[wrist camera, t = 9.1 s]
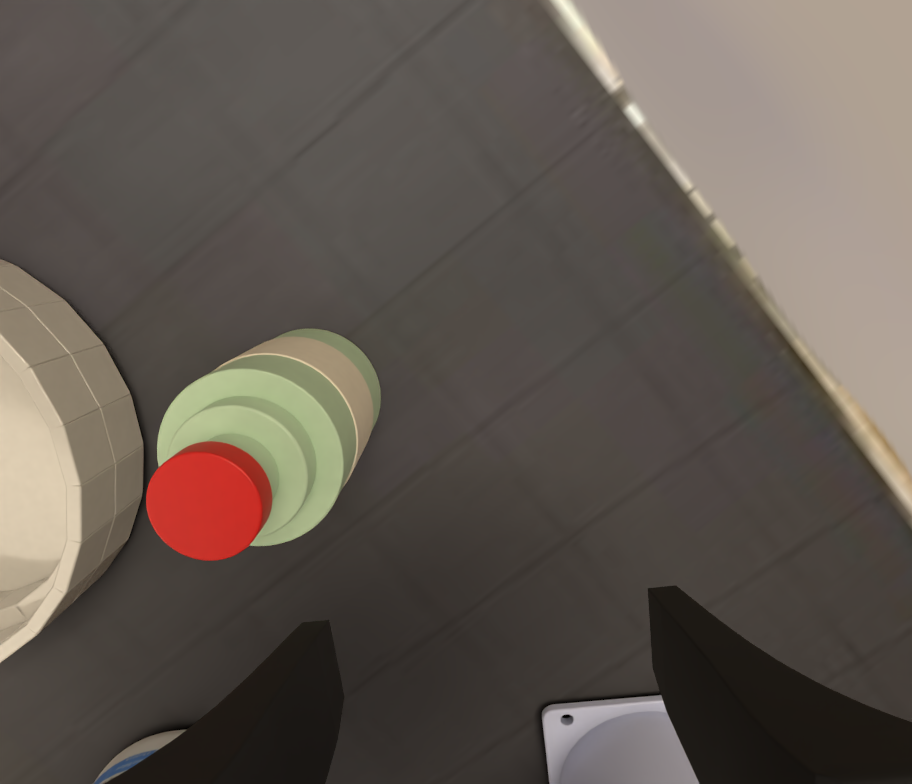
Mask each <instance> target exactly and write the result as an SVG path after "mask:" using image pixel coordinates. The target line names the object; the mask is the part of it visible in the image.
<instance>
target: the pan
mask: <svg viewBox="0 0 912 784" xmlns="http://www.w3.org/2000/svg"><path fill="white" fill-rule="evenodd" d="M143 444H144V443H143V439H142V436H141V432H140V428H139V424H138V420H137V416H136V412H135V408H134V404H133V400H132V396H131V394H130V391H129V389H128V388H127V386H126V384H125V382H124V380H123V378H122V376H121V375H120V373H119V371H118V369H117V367H116V365H115V364H114V362H113V360H112V358H111V356H110V354H109V352H108V351H107V349H106V347H105V345H103V342H102V341H101V340H100V339H99V338H98V337H97V336H96V335H95V333H94V332H93V331H92V330H91V329H90V328H89V327H88V326H87V324H86V323H85V322H84V321H83V320H82V319H81V318H80V317H79V315H78V314H77V313H76V312H75V311H74V310H73V309H72V308H71V306H70V305H69V304H68V303H67V302H66V301H65V300H64V299H63V298H61V297H60V296H58V295H57V294H56V293H54V292H53V291H51V290H50V289H49V288H47V287H46V286H44V285H43V284H42V283H40V282H39V281H37V280H36V279H35V278H33V277H32V276H30V275H29V274H28V273H26V272H25V271H23V270H22V269H20V268H19V267H18V266H16V265H15V266H14V265H13V264H11V263H9V262H6V261H4V260H1V259H0V663H1V662H2V661H4V660H5V659H6V658H8V657H9V656H10V655H12V654H13V653H14V652H16V651H17V650H18V649H20V648H21V647H22V646H24V645H25V644H26V643H28V642H29V641H30V640H32V639H33V638H34V637H36V636H37V635H38V634H39V633H40V632H41V631H42V630H43V629H45V628H46V627H47V626H48V625H49V624H50V623H51V622H52V621H53V620H54V619H55V618H56V617H58V616H59V615H60V614H61V613H62V612H63V611H64V610H65V609H66V608H67V607H68V606H69V605H71V604H72V602H74V601H75V600H76V599H77V598H78V597H79V596H80V595H81V594H82V593H83V592H85V591H86V590H87V589H88V588H89V587H90V586H91V585H92V584H93V583H94V582H95V581H96V580H97V579H99V578H100V577H101V576H102V575H103V574H104V573H105V571H106V570H107V568H108V567H109V566H110V564H111V563H112V561H113V560H114V559H115V557H116V556H117V554H118V553H119V551H120V550H121V549H122V547H123V546H124V544H125V543H126V542H127V540H128V538H129V536H130V533H131V530H132V527H133V523H134V520H135V517H136V514H137V511H138V508H139V505H140V501H141V498H142V493H143V452H144V446H143Z"/></svg>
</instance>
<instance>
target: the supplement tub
mask: <svg viewBox="0 0 912 784" xmlns="http://www.w3.org/2000/svg"><path fill="white" fill-rule="evenodd" d="M186 730H187V729H186ZM186 730H176V731H168V732H163V733H159V734H156V735H152V736H149V737H147V738H144V739H142V740H140V741H138V742H136V743H134V744H132V745H131V746H129V747H127V748H126V749H124V750H123V751H122V752H121V753H119V754H118V755H117V756H116V757H115V758H113V759H112V760H111V761H110V763H109V764H108V765H107V766H106V767H105V768H104V769H103V770H102V772H101V773H100V774H99V776H98V777H97V779H96V780H95V782H94V783H93V784H104V783H106V782H108V781H110V780H111V779H113V778H115V777H116V776H118V775H120V774H121V773H123V772H125V771H127V770H128V769H130V768H132V767H133V766H135V765H136V764H138V763H139V762H141V761H142V760H144V759H145V758H147V757H148V756H150V755H151V754H153V753H154V752H156V751H157V750H159V749H160V748H162V747H163V746H165V745H166V744H168V743H169V742H171V741H172V740H174V739H175V738H176V737H178V736H179V735H180V734H182V733H183V732H184V731H186Z"/></svg>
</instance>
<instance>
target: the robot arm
mask: <svg viewBox="0 0 912 784" xmlns="http://www.w3.org/2000/svg"><path fill="white" fill-rule="evenodd" d="M648 598H649V614H650V631H651V647H652V664H653V670H654V674H655V677H656V680H657V683H658V687H659V690H660V693H661V695H655V696H644V697H632V698H621V699H609V700H598V701H586V702H575V703H563V704H552V705H549V706H547V707H545V708H544V710H543V711H542V723H543V732H544V741H545V749H546V758H547V767H548V776H549V784H912V722H909V721H906V720H904V719H901V718H898V717H895V716H893V715H890V714H887V713H885V712H882V711H880V710H877V709H875V708H872V707H869V706H867V705H865V704H862V703H860V702H858V701H856V700H853V699H851V698H849V697H847V696H844V695H842V694H840V693H838V692H836V691H833V690H831V689H829V688H827V687H825V686H823V685H821V684H819V683H817V682H815V681H813V680H812V679H810V678H808V677H806V676H804V675H802V674H801V673H799V672H797V671H795V670H793V669H791V668H790V667H788V666H786V665H785V664H783V663H781V662H780V661H778V660H776V659H775V658H773V657H772V656H770V655H768V654H767V653H765V652H764V651H762V650H761V649H759V648H758V647H756V646H755V645H753V644H752V643H750V642H749V641H747V640H746V639H744V638H743V637H742V636H740V635H739V634H737V633H736V632H735V631H733V630H732V629H730V628H729V627H728V626H726V625H725V624H724V623H722V622H721V621H720V620H718V619H717V618H716V617H715V616H713V615H712V614H711V613H709V612H708V611H707V610H706V609H704V608H703V607H702V606H701V605H699V604H698V603H697V602H696V601H694V600H693V599H692V598H691V597H689V596H688V595H687V594H686V593H685V592H683V591H682V590H681V589H680V588H678V587H677V586H667V587H657V588H648ZM343 701H344V693H343V688H342V683H341V678H340V673H339V668H338V663H337V658H336V653H335V648H334V643H333V638H332V633H331V628H330V623H329V620H324V621H314V622H304V623H302V624H301V625H300V626H299V627H297V628H296V629H295V630H294V631H293V632H292V633H291V634H290V635H289V636H288V637H287V638H286V639H285V640H284V641H283V642H282V644H281V645H280V646H279V647H278V648H277V649H276V650H275V651H274V652H273V653H272V654H271V655H270V656H269V657H268V658H267V659H266V660H265V661H264V662H263V663H262V664H261V665H260V666H259V667H258V668H257V669H256V670H255V671H254V672H253V673H252V674H251V675H250V676H249V677H248V678H247V679H245V680H244V681H243V682H242V683H241V684H240V685H239V686H238V687H237V688H236V689H234V690H233V691H232V692H231V693H230V694H229V695H228V696H227V697H226V698H225V699H224V700H222V701H221V702H220V703H219V704H218V705H217V706H216V707H215V708H213V709H212V710H211V711H210V712H209V713H207V714H206V715H205V716H204V717H203V718H201V719H200V720H199V721H198V722H196V723H195V724H194V725H192V726H191V727H190V728H188V729H187V730H186V731H184V732H183V733H182V734H180V735H179V736H178V737H176V738H175V739H174V740H172V741H171V742H169V743H168V744H166V745H165V746H163V747H162V748H160V749H159V750H157V751H156V752H154V753H153V754H151V755H150V756H148V757H147V758H145V759H144V760H142V761H141V762H139V763H138V764H136V765H135V766H133V767H132V768H130V769H128V770H127V771H125V772H123V773H121V774H120V775H118V776H116V777H115V778H113V779H111V780H110V781H108V782H106V783H104V784H325V782H326V779H327V775H328V772H329V768H330V765H331V761H332V758H333V754H334V751H335V747H336V743H337V739H338V733H339V728H340V722H341V715H342V708H343ZM566 714H568V715H571V716H570V717H569V718H563V717H562V716H563V715H566Z"/></svg>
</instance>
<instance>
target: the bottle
mask: <svg viewBox="0 0 912 784" xmlns="http://www.w3.org/2000/svg"><path fill="white" fill-rule="evenodd" d="M380 406H381V392H380V385H379V381H378V377H377V375H376V372H375V370H374V368H373V366H372V364H371V363H370V361H369V360H368V358H367V357H366V355H365V354H364V353H363V352H362V351H361V350H360V349H359V348H358V347H357V346H356V345H354V344H353V343H352V342H350V341H349V340H347V339H346V338H344V337H342V336H340V335H338V334H336V333H333V332H330V331H326V330H321V329H311V328H308V329H298V330H293V331H290V332H287V333H284V334H282V335H280V336H278V337H276V338H274V339H272V340H269V341H266V342H264V343H262V344H260V345H258V346H256V347H254V348H252V349H250V350H248V351H246V352H244V353H243V354H241V355H239V356H237V357H235V358H233V359H231V360H229V361H227V362H226V363H224V364H222V365H221V366H219V367H218V368H216V369H215V370H214V371H213V372H211V373H209V374H207V375H205V376H203V377H201V378H200V379H198V380H196V381H195V382H193V383H192V384H190V385H189V386H187V387H186V388H185V389H184V390H183V391H182V392H181V393H180V394H179V395H178V396H177V397H176V398H175V399H174V401H173V402H172V403H171V405H170V406H169V408H168V410H167V411H166V413H165V415H164V418H163V420H162V423H161V426H160V430H159V434H158V442H157V460H158V465H159V468H158V469H157V470H156V472H155V473H154V475H153V476H152V478H151V480H150V483H149V485H148V489H147V495H146V507H147V513H148V516H149V519H150V522H151V524H152V526H153V528H154V529H155V531H156V533H157V534H158V535H159V536H160V538H161V539H162V540H163V541H164V542H165V543H166V544H167V545H169V546H170V547H171V548H173V549H174V550H176V551H177V552H179V553H181V554H183V555H185V556H188V557H191V558H194V559H199V560H207V561H212V560H221V559H226V558H229V557H232V556H234V555H236V554H238V553H240V552H242V551H243V550H244V549H246V548H247V547H248V546H269V545H275V544H281V543H284V542H287V541H291V540H293V539H295V538H297V537H300V536H302V535H303V534H305V533H307V532H308V531H310V530H311V529H313V528H314V527H315V526H316V525H317V524H319V523H320V522H321V521H322V519H323V518H324V517H325V516H326V515H327V514H328V512H329V511H330V509H331V508H332V506H333V505H334V503H335V501H336V499H337V497H338V495H339V493H340V491H341V489H342V488H343V487H344V485H345V484H346V483H347V481H348V480H349V478H350V476H351V474H352V472H353V470H354V468H355V466H356V464H357V462H358V460H359V458H360V456H361V454H362V452H363V450H364V448H365V446H366V444H367V442H368V440H369V437H370V434H371V432H372V430H373V428H374V426H375V423H376V421H377V418H378V415H379V411H380Z"/></svg>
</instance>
